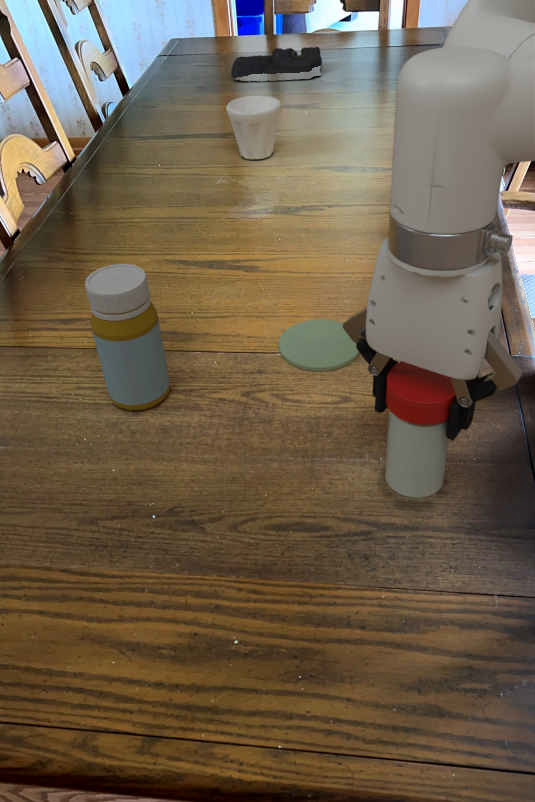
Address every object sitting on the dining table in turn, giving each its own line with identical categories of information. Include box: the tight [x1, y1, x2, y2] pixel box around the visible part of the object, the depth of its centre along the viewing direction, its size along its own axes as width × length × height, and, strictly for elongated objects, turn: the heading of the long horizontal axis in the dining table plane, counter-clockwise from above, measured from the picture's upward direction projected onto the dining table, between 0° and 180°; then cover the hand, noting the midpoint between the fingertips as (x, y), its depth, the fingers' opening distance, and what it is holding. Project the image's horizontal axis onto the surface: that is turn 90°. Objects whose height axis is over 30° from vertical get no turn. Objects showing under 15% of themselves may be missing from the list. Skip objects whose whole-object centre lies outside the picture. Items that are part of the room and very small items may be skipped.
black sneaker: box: [231, 46, 323, 78], centre depth 173 cm, size 15×22×5 cm
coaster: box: [278, 318, 361, 372], centre depth 86 cm, size 10×10×1 cm
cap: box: [386, 361, 456, 425], centre depth 62 cm, size 6×6×2 cm
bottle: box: [84, 263, 171, 412], centre depth 77 cm, size 7×7×15 cm
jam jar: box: [384, 409, 450, 499], centre depth 66 cm, size 6×6×11 cm
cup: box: [225, 95, 282, 159], centre depth 132 cm, size 10×10×9 cm
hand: (420, 415), depth 64 cm, fingers closed on cap, 6 cm apart
